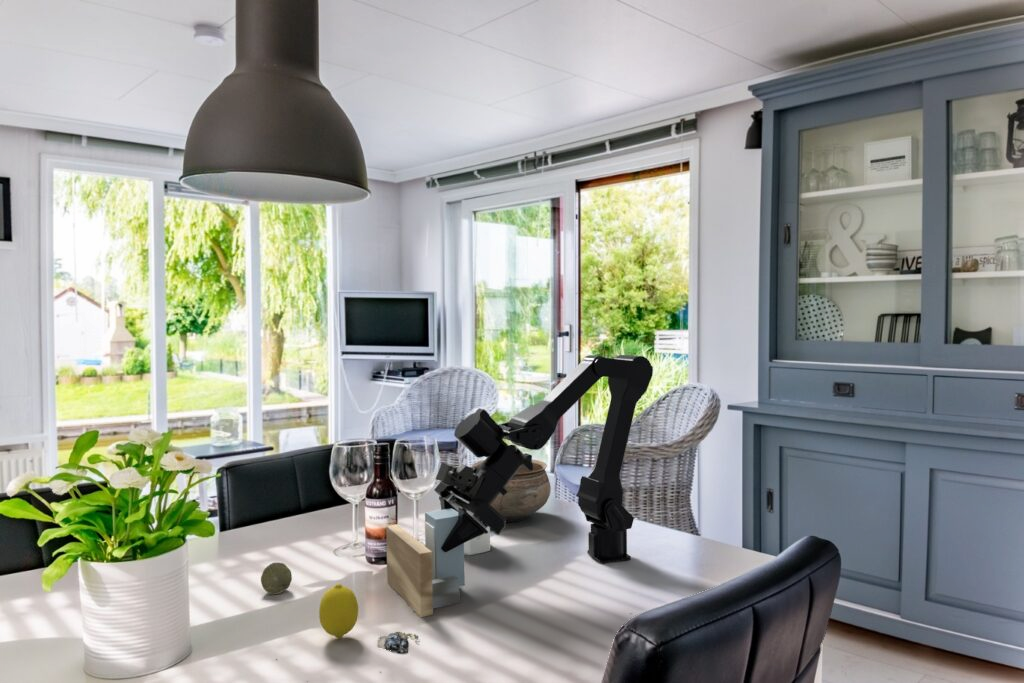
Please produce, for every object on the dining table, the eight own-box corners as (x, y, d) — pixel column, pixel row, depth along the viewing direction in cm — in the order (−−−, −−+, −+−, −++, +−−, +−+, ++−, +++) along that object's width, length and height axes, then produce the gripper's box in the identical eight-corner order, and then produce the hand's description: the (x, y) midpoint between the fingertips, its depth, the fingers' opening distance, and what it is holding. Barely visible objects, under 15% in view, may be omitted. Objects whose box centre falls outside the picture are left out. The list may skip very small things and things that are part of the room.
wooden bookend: (427, 574, 130) (426, 519, 130) (465, 607, 115) (464, 546, 114) (387, 581, 126) (386, 525, 126) (420, 617, 111) (419, 553, 111)
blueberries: (411, 632, 107) (410, 620, 107) (435, 653, 100) (435, 640, 100) (368, 644, 103) (367, 631, 103) (390, 666, 97) (390, 653, 97)
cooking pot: (452, 510, 173) (452, 459, 173) (523, 500, 181) (522, 452, 181) (494, 538, 150) (493, 480, 150) (572, 526, 158) (572, 471, 158)
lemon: (323, 631, 107) (322, 578, 107) (361, 629, 107) (359, 576, 107) (316, 648, 101) (315, 592, 101) (356, 646, 102) (354, 590, 102)
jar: (461, 558, 138) (460, 496, 138) (441, 547, 145) (440, 488, 145) (500, 549, 143) (499, 490, 143) (479, 539, 150) (478, 482, 150)
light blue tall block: (453, 575, 126) (451, 508, 125) (464, 585, 121) (463, 515, 121) (425, 581, 123) (423, 512, 123) (435, 591, 119) (434, 519, 118)
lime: (295, 591, 123) (295, 562, 123) (269, 599, 119) (268, 569, 119) (283, 584, 126) (283, 556, 126) (257, 592, 123) (256, 563, 122)
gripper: (443, 437, 132) (386, 505, 127) (487, 454, 115) (424, 532, 110) (483, 474, 135) (429, 541, 131) (531, 496, 119) (471, 573, 114)
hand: (437, 546), depth 121 cm, fingers closed on light blue tall block, 5 cm apart
